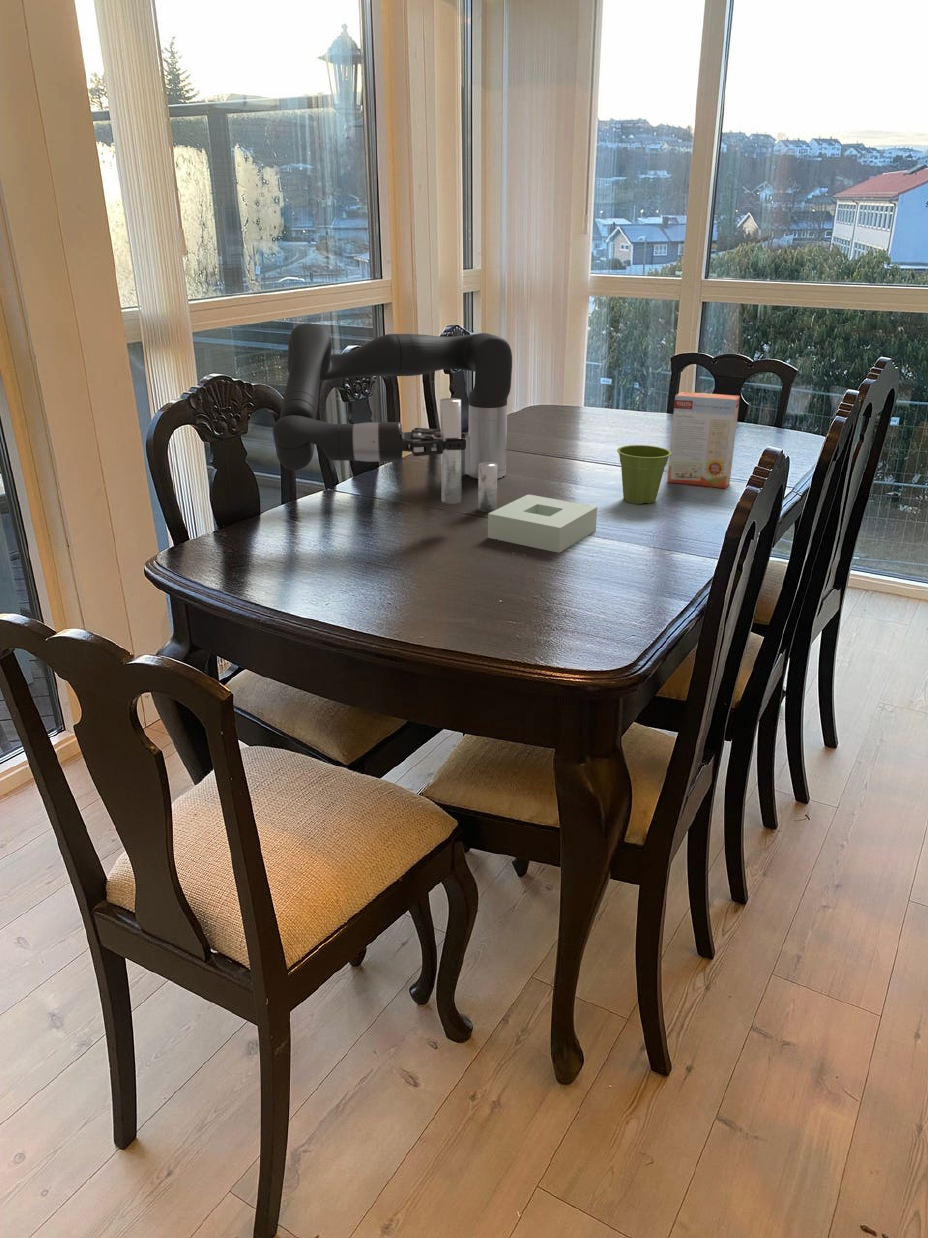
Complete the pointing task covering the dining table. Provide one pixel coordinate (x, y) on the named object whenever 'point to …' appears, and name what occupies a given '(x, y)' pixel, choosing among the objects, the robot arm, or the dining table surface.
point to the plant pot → (642, 471)
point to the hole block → (542, 522)
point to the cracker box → (703, 439)
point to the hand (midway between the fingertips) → (465, 440)
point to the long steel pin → (450, 458)
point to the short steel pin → (487, 487)
